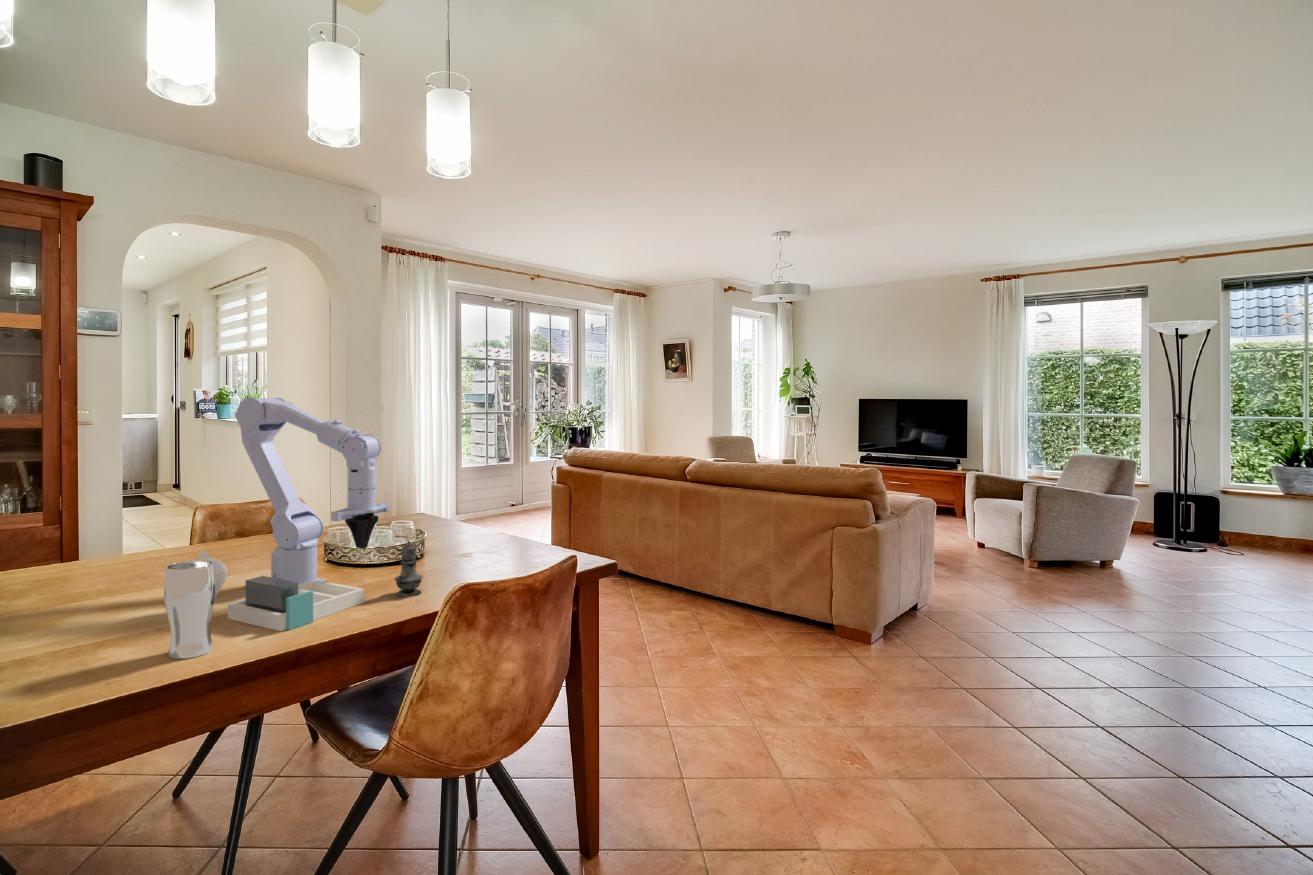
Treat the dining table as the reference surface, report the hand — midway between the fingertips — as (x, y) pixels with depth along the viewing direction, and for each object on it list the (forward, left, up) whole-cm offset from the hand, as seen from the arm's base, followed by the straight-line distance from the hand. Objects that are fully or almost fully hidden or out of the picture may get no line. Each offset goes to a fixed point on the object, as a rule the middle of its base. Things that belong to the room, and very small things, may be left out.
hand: (361, 547), depth 143 cm
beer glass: (+4, -39, -10) cm, 40 cm away
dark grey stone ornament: (+12, +2, -10) cm, 15 cm away
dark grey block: (+1, -23, -9) cm, 24 cm away
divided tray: (+1, -17, -9) cm, 19 cm away
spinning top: (-15, -25, -10) cm, 31 cm away
